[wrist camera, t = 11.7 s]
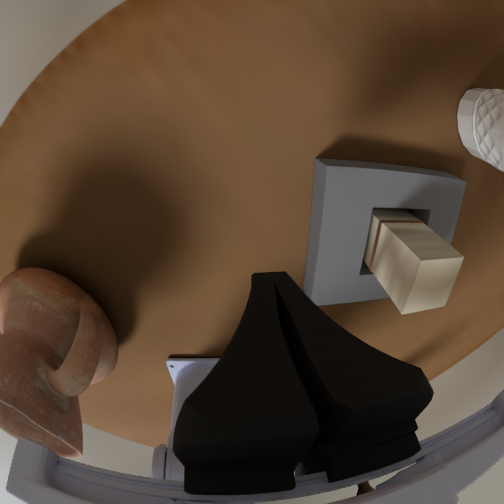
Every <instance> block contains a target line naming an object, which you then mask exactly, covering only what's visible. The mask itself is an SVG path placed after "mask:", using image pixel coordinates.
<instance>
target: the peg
mask: <svg viewBox="0 0 504 504" xmlns="http://www.w3.org/2000/svg"><path fill="white" fill-rule="evenodd" d="M463 259H464V256H462V255H461V254H460V253H459V252H458V251H457V250H456V249H454V248H453V247H452V246H451V245H450V244H449V243H447V242H446V241H445V240H444V239H443V238H441V237H440V236H439V235H438V234H437V233H435V232H434V231H433V230H432V229H430V228H429V227H428V226H427V225H425V224H424V222H423V221H422V220H419V219H418V218H416V217H415V216H414V215H412V214H411V213H410V212H408V211H407V210H406V209H396V208H373V209H372V215H371V221H370V226H369V231H368V237H367V242H366V247H365V251H364V256H363V261H364V262H365V263H366V265H367V266H368V267H369V270H370V271H372V273H373V274H374V275H375V277H376V278H377V280H378V281H379V282H380V284H381V285H382V286H383V288H384V289H385V291H386V292H387V294H388V295H389V296H390V298H391V299H392V301H393V302H394V304H395V305H396V307H397V308H398V310H399V311H400V313H401V314H402V315H403V314H408V313H413V312H419V311H424V310H429V309H433V308H438V307H443V306H445V303H446V301H447V299H448V297H449V294H450V292H451V290H452V287H453V285H454V283H455V280H456V278H457V275H458V273H459V270H460V267H461V265H462V262H463Z"/></svg>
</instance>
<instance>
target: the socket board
mask: <svg viewBox="0 0 504 504" xmlns="http://www.w3.org/2000/svg"><path fill="white" fill-rule="evenodd" d="M465 186H466V181H465V180H463V179H461V178H459V177H457V176H455V175H453V174H451V173H449V172H443V171H437V170H431V169H425V168H418V167H411V166H403V165H395V164H386V163H376V162H366V161H354V160H340V159H322V158H315V168H314V183H313V196H312V208H311V219H310V230H309V240H308V250H307V259H306V267H305V276H304V284H303V289H304V292H305V294H306V295H307V296H308V297H309V298H310V299H311V300H312V301H313V302H314V303H315V304H316V305H317V306H321V305H332V304H342V303H351V302H360V301H368V300H377V299H384V298H390V296H389V295H388V294H387V292H386V291H385V289H384V288H383V286H382V285H381V284H380V282H379V281H378V280H377V278H376V277H375V275H374V274H373V273H372V271H370V270H369V267H368V266H367V265H366V263H365V262H364V261H363V256H364V251H365V247H366V242H367V237H368V231H369V226H370V221H371V215H372V209H373V207H382V208H410V209H412V212H411V214H412V215H414V216H415V217H416V218H418V219H419V220H422V221H423V222H424V224H425V225H427V226H428V227H429V228H430V229H432V230H433V231H434V232H435V233H437V234H438V235H439V236H440V237H441V238H443V239H444V240H445V241H446V242H447V243H449V244H450V245H451V242H452V238H453V235H454V231H455V228H456V224H457V221H458V217H459V213H460V209H461V205H462V200H463V196H464V191H465Z"/></svg>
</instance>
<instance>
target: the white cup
mask: <svg viewBox="0 0 504 504" xmlns="http://www.w3.org/2000/svg"><path fill="white" fill-rule="evenodd" d="M457 121H458V132H459V134H460V137H461V140H462V143H463V145H464V146H465V148H466V149H467V150H468V151H469V152H470V154H471V155H473V156H476V157H478V158H480V159H482V160H484V161H486V162H488V163H490V164H491V165H493V166H494V167H495V168H497V169H499V170H501V171H502V172H504V90H503V89H482V88H474V89H470V90H467V91H466V92H465V94H464V95H463V96H462V98H461V99H460V103H459V107H458V112H457Z"/></svg>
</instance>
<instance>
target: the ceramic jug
mask: <svg viewBox="0 0 504 504" xmlns="http://www.w3.org/2000/svg"><path fill="white" fill-rule="evenodd" d="M0 330H1V333H2V334H1V335H0V428H1V429H2V430H3V431H5V432H6V433H8V434H9V435H11V436H13V437H14V438H16V439H18V438H19V436H23V437H25V438H28V439H30V440H33V441H35V442H37V443H40V444H42V445H44V446H46V447H48V448H49V449H51V450H52V451H54V452H55V453H56V454H57V455H58V456H61V457H64V458H69V459H73V458H76V459H77V458H80V457H82V452H83V435H82V434H83V433H82V422H81V415H80V407H79V400H78V395H79V394H81V393H82V392H83V391H84V390H85V389H86V388H87V387H88V386H89V385H92V384H95V383H98V382H100V381H102V380H104V379H105V378H106V377H108V375H109V374H110V373H111V372H112V371H113V369H114V368H115V365H116V363H117V358H118V344H117V338H116V335H115V332H114V329H113V327H112V325H111V323H110V321H109V319H108V318H107V316H106V314H105V313H104V312H103V310H102V308H101V307H100V306H99V305H98V304H97V303H96V301H95V300H94V299H93V298H92V297H91V296H90V295H89V294H88V293H87V292H85V291H84V290H83V289H82V288H80V287H79V286H78V285H76V284H75V283H73V282H72V281H71V280H69V279H67V278H65V277H64V276H62V275H60V274H58V273H56V272H53V271H51V270H47V269H44V268H38V267H27V268H22V269H18V270H16V271H14V272H12V273H10V274H9V275H7V276H6V277H5V278H4V279H3V281H2V282H1V283H0Z"/></svg>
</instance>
